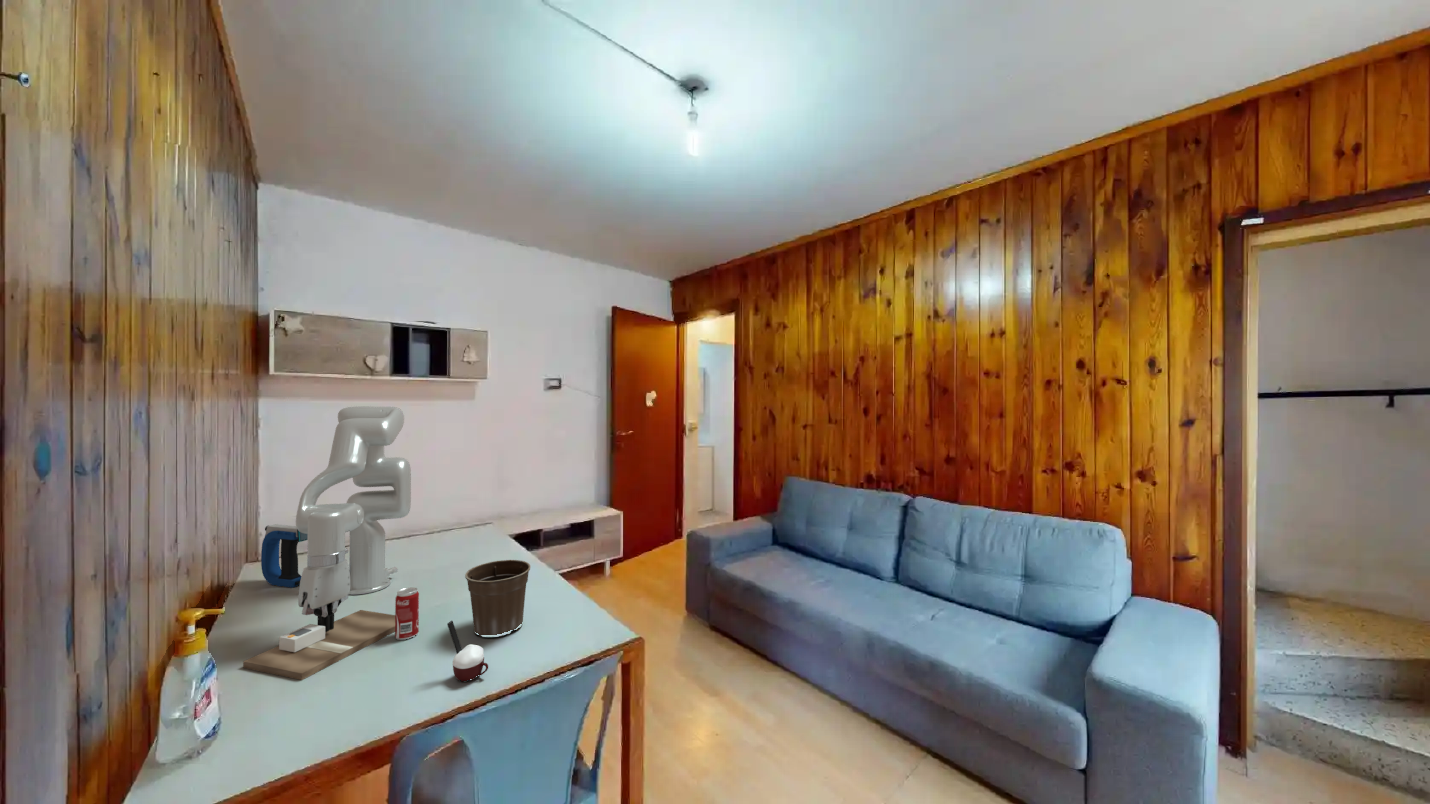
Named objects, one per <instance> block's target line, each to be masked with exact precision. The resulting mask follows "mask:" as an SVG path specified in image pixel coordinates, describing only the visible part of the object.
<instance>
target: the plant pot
mask: <svg viewBox="0 0 1430 804" xmlns="http://www.w3.org/2000/svg"><path fill="white" fill-rule="evenodd" d="M530 570H531V564H530V563H529V562H527V561H525V560H520V559H504V560H494V561H489V562H484V563H482V564H479V565H476V566H474V567H472V568H469V569H468V570H467V571H466V572H465V574H464V577H465V580H466V581H467V589H468V592H469V595H470V603H471V612H472V620H473V621H472V622H473V632H474V631H475V632H476V633H478V634H479V636H480V635H497V634H502V633H504V632H508V631H510V630H514V629H516V628H517V627H518V626H519V625H520V624H522V622H523V623H524V611H525V610H524V609H525V601H526V589H527V583H528V581H529V572H530ZM522 625H523V624H522ZM514 631H515V630H514Z"/></svg>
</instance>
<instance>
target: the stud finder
mask: <svg viewBox="0 0 1430 804" xmlns="http://www.w3.org/2000/svg"><path fill="white" fill-rule="evenodd" d="M322 639H325V626H320V625H318V624H314V623H309V624H307V625H304V626H302V627H299V628H297V629H295V630H292V631H290V632H287V633H285V634H283V635H281V636H279V637H278V641H279V642H278V646H279V649H280V650H285V651H290V652H297V651H299V650H301V649H303V648H305V647H307V646H310V645H312V644H314V643H316V642H318V641H320V640H322Z"/></svg>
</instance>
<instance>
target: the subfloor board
mask: <svg viewBox="0 0 1430 804" xmlns="http://www.w3.org/2000/svg"><path fill="white" fill-rule="evenodd" d="M393 633H395V614H390V613H383V612H376V611H371V610H363V609H360V610H357V611H354V612H353V613H350V614H348V615H346V616H344V617H341V618H339V619H337V620H334V629H332V630H329V631H328V632H325V639H322V640H320V641H318V642H316V643H314V644H312V645H310V646H307V647H305V648H303V649H301V650H299V651H297V652H290V651H285V650H280V649H279V645H278V646H275V647H273V648H271V649H268V650H266V651H264V652H263V651H262V652H261V653H259V654H257V655H254V656H253V657H250V658H248V659H246V660H243V661H242V664H243V665H242V668H243V669H248V670H252V671H256V670H257V671H256V672H262V673H266V674H270V675H276V676H281V677H285V678H289V679H294V680H300V681H303V680H305V679H308V677H310V676H312V675H315V674H316V673H318V672H321V671H322V670H324V669H326V668H328V667H330V666H332V665H334V664H336V663H338V662H339V660H340V661H341V660H343V659H345V658H347V657H349V656H350V655H353V654H355V653H358V652H359V651H361V650H363V649H364V648H366V647H368V646H370V645H372V644H374V643H376V642H378V641H380V640H381V639H383V638H385V637H388V636H390V635H391V634H393ZM387 635H388V636H387Z"/></svg>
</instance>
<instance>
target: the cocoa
mask: <svg viewBox="0 0 1430 804" xmlns="http://www.w3.org/2000/svg"><path fill="white" fill-rule="evenodd" d="M447 628H448V631H449V634H450V636H451V640H452V643H453V646H454V649H455V650H454V651H455V652H456V653H455V655H454V657H453V659H452V671H453V675H454V677H455V678H456V680H457V681H459V680H461V681H460V682H463V681H467V680H470V679H473V678H475V677H476V676H478V675H481V676H482V675H484V674H485V673H486V672H487V671H488V669H489V664H488V663H487V662H485V657H484V656H485V655H484V648H483V647H482V646H480V645H479V644H478V645H476V644H471V643H470V644H468V645H466V646H465V647H463V648H462V645H461V642H460V638H459V636H458V633H457V630H456V626H455V624H454V621H453V620H449V622H447ZM484 666H485V669H484V671H483V667H484ZM478 677H479V676H478ZM475 679H476V678H475ZM473 680H474V679H473Z"/></svg>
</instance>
